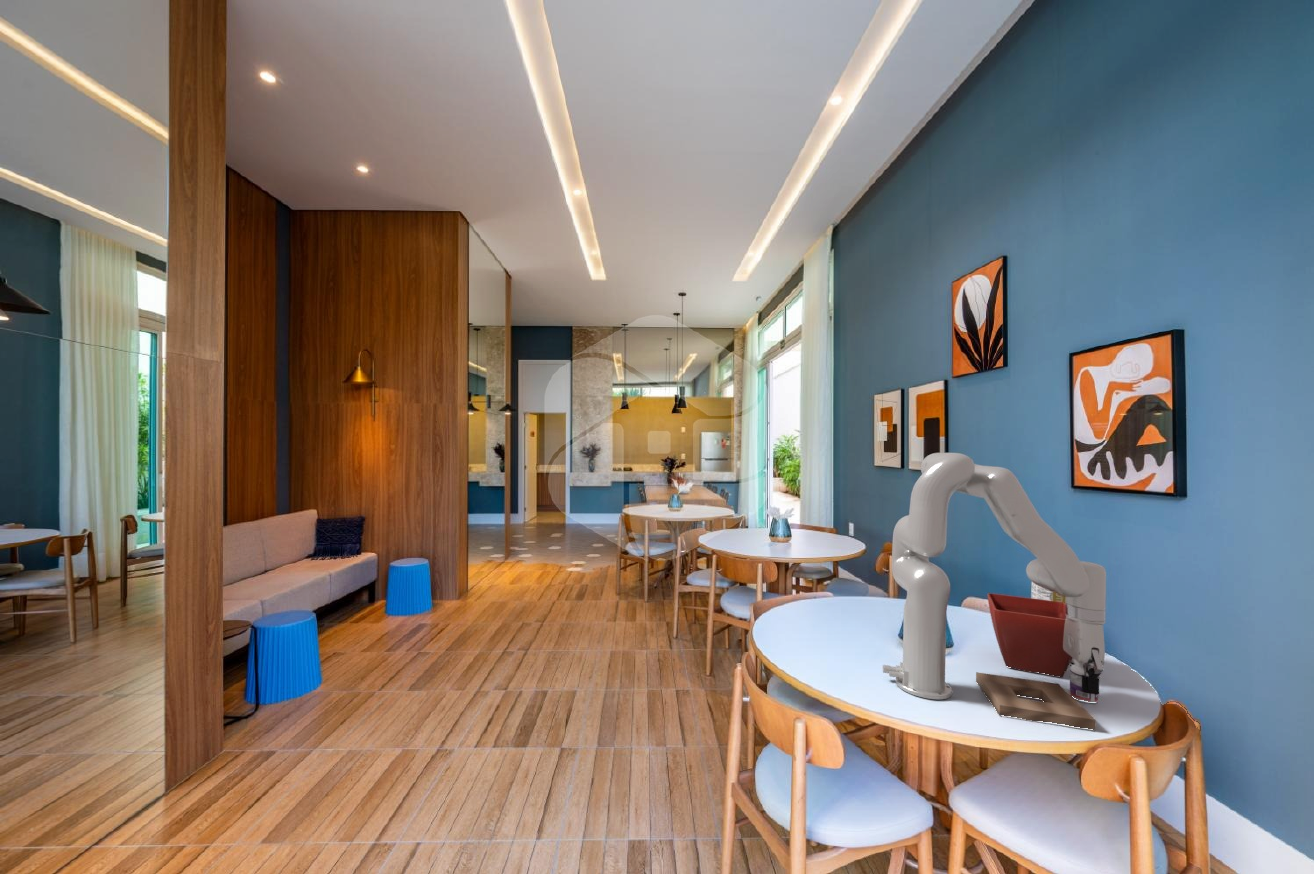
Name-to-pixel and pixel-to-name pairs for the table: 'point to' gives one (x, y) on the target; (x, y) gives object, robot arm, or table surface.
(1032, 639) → the plant pot
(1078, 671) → the pill bottle
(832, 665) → the table surface
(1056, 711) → the socket block
